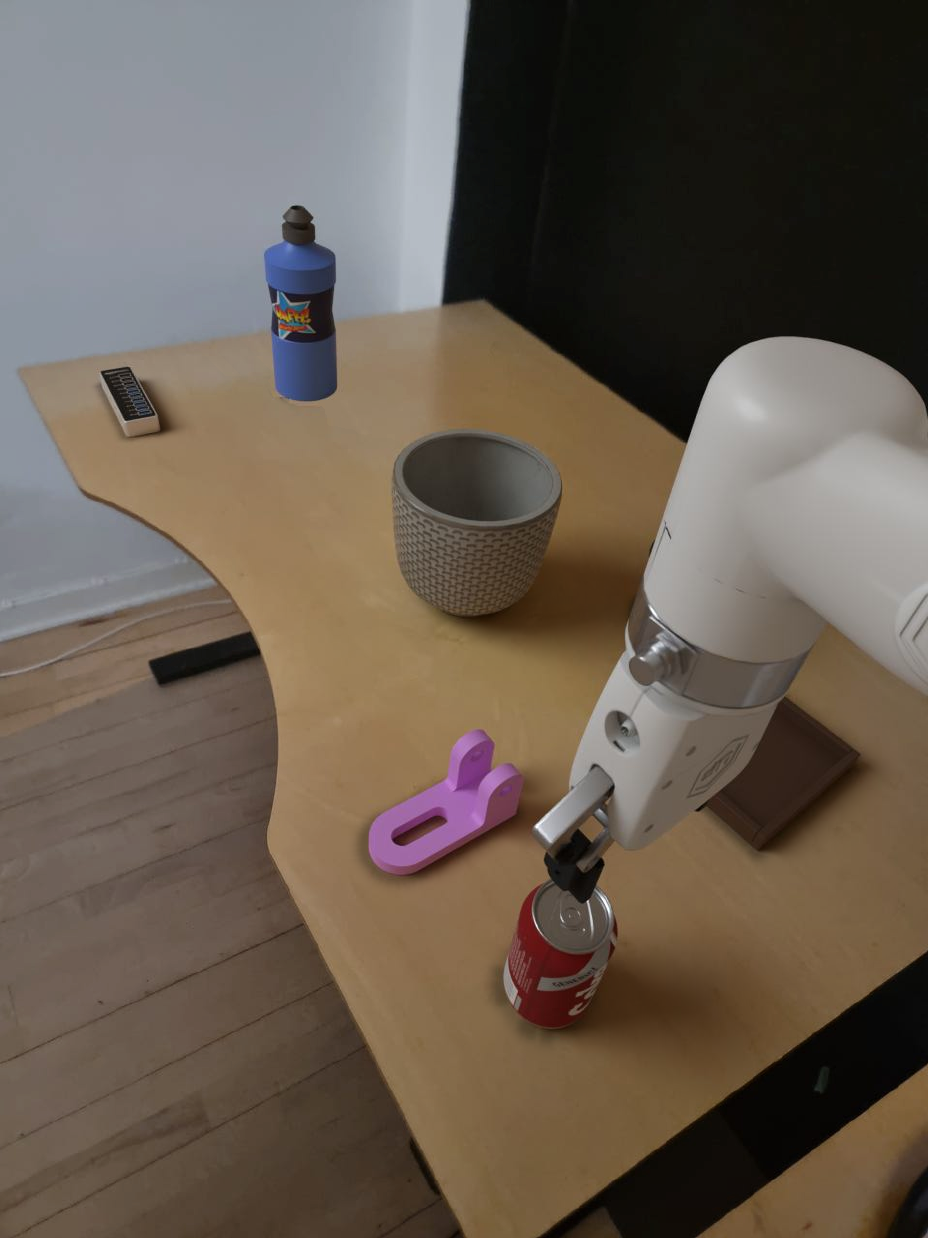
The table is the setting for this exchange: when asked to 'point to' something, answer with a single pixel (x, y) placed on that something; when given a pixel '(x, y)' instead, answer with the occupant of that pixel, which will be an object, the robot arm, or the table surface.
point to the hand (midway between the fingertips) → (626, 835)
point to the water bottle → (302, 310)
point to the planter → (472, 518)
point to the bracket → (449, 808)
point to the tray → (782, 775)
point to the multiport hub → (129, 401)
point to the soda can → (558, 955)
